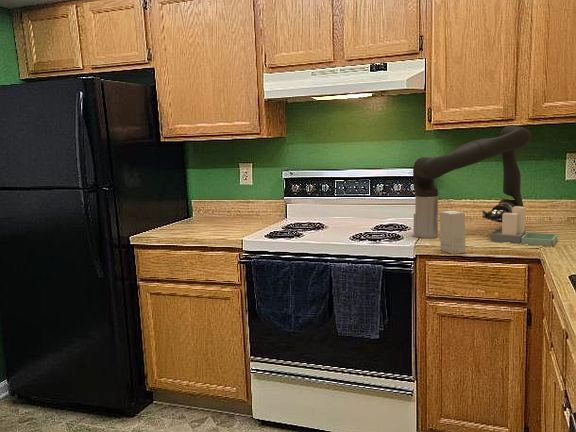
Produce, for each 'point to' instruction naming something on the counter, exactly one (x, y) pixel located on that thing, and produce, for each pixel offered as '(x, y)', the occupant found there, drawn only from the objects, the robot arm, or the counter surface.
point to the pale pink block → (510, 223)
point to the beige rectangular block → (520, 217)
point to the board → (506, 237)
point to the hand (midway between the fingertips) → (493, 218)
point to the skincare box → (452, 231)
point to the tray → (539, 239)
